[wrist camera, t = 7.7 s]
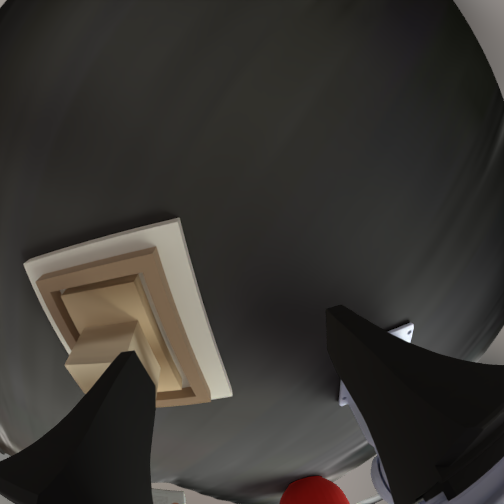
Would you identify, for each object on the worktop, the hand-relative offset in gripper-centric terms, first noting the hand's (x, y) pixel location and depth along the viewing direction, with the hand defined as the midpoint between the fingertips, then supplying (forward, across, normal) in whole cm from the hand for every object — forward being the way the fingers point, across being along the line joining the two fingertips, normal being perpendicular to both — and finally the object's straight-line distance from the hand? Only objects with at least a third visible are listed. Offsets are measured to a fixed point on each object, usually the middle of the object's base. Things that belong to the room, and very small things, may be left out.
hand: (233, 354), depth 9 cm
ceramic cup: (+10, -1, +50) cm, 51 cm away
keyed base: (+9, +9, +5) cm, 14 cm away
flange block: (+8, +9, +4) cm, 13 cm away
